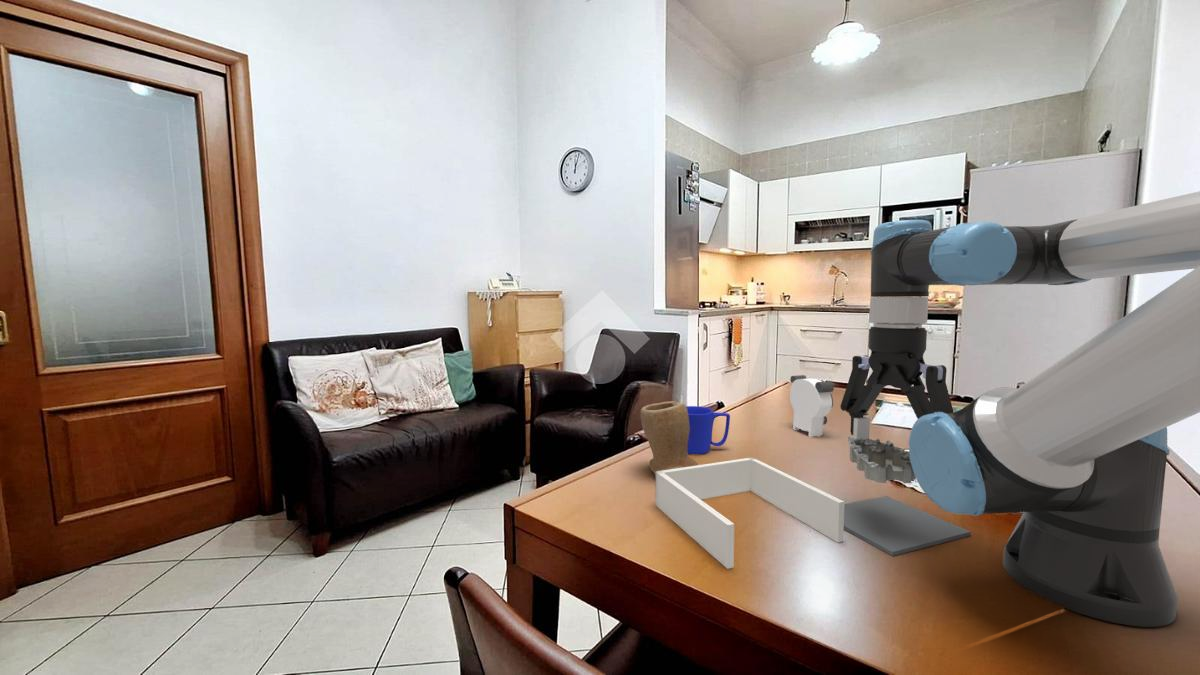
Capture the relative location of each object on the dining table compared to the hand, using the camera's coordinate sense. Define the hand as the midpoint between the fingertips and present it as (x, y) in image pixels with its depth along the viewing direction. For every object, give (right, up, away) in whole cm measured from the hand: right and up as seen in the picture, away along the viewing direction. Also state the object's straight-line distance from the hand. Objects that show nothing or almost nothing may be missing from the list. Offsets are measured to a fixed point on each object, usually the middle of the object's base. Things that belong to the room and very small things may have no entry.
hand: (891, 467), depth 75 cm
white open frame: (-23, -9, +3) cm, 25 cm away
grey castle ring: (0, -1, 0) cm, 2 cm away
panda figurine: (+8, -5, +48) cm, 49 cm away
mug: (-22, -6, +36) cm, 43 cm away
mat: (0, -9, +1) cm, 9 cm away
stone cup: (-31, -8, +21) cm, 38 cm away
